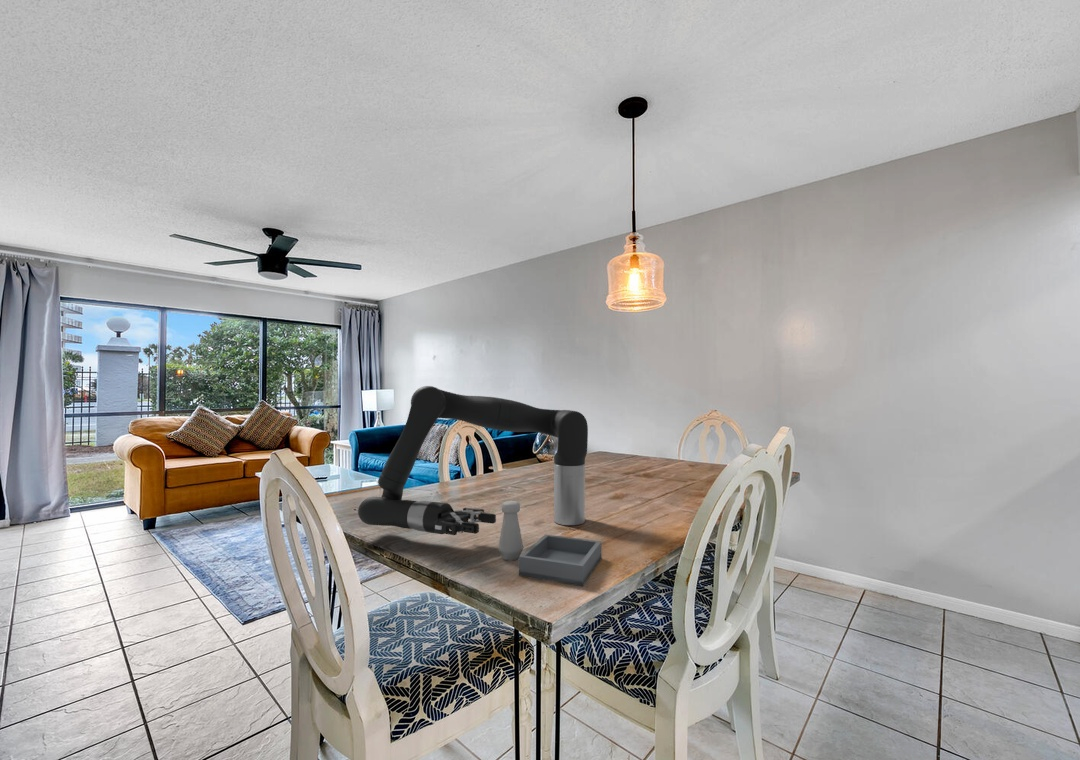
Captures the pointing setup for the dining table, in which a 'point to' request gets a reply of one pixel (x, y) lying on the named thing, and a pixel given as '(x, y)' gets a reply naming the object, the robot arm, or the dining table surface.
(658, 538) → the dining table surface
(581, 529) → the dining table surface
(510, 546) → the salt shaker
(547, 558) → the tray
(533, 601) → the dining table surface
